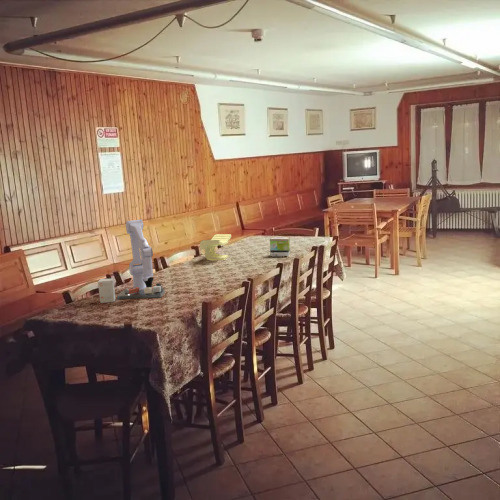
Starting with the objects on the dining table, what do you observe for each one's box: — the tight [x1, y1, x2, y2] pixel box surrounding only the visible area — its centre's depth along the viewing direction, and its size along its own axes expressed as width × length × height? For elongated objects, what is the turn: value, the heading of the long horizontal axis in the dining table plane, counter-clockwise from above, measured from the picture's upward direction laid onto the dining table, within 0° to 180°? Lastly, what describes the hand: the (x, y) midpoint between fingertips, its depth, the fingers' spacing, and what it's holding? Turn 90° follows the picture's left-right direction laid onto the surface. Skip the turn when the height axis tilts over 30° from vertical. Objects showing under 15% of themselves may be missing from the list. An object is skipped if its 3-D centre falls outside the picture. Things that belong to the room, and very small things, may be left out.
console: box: [116, 285, 166, 300], centre depth 322 cm, size 14×26×4 cm, turn 89°
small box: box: [97, 278, 117, 304], centre depth 312 cm, size 8×6×13 cm
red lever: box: [123, 287, 139, 295], centre depth 319 cm, size 9×2×3 cm, turn 127°
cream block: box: [144, 286, 153, 294], centre depth 319 cm, size 3×4×3 cm
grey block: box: [152, 285, 162, 292], centre depth 321 cm, size 3×4×3 cm
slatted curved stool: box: [199, 233, 232, 261], centre depth 429 cm, size 30×16×18 cm, turn 164°
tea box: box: [269, 236, 291, 257], centre depth 431 cm, size 15×10×15 cm, turn 81°
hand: (149, 289), depth 322 cm, fingers closed
